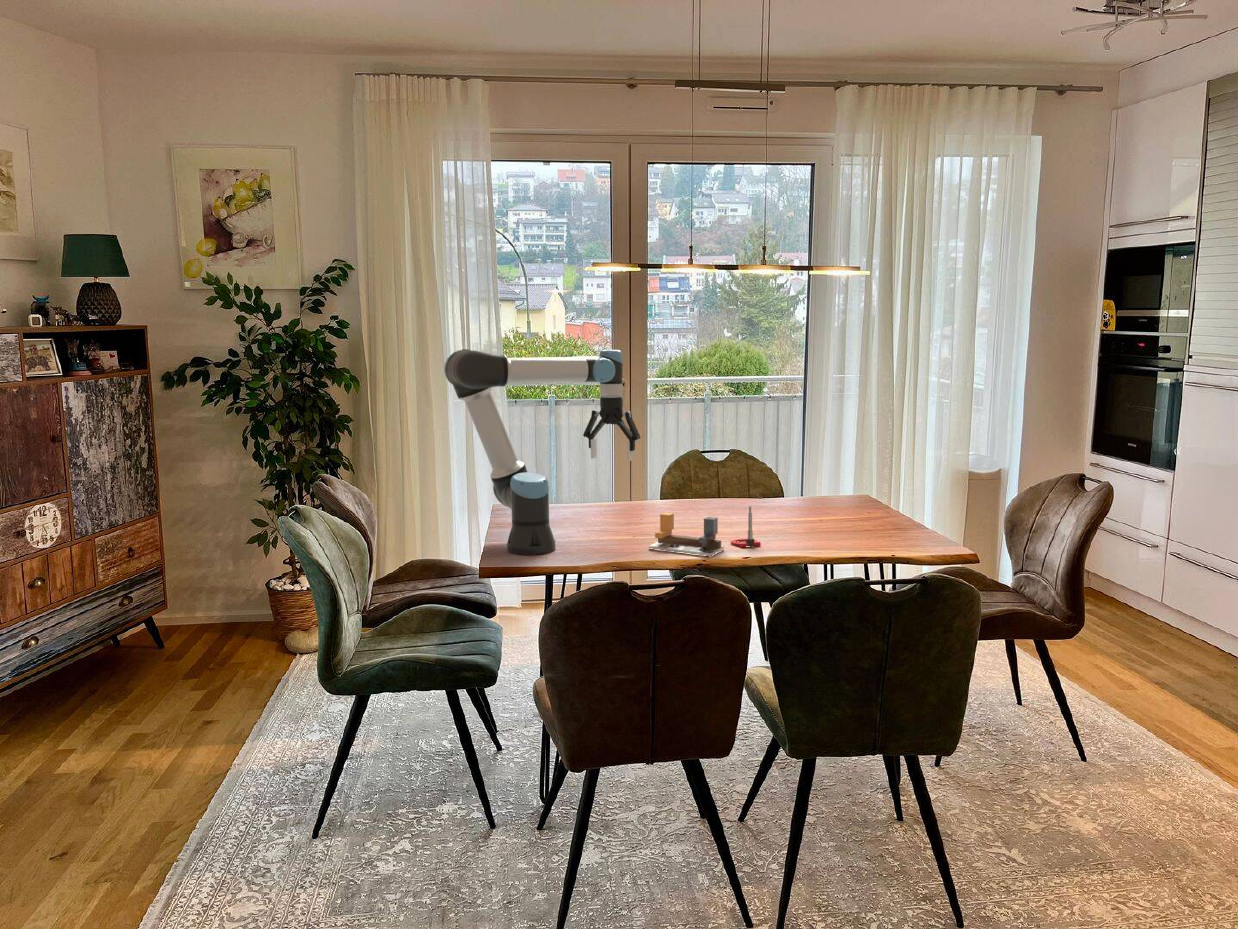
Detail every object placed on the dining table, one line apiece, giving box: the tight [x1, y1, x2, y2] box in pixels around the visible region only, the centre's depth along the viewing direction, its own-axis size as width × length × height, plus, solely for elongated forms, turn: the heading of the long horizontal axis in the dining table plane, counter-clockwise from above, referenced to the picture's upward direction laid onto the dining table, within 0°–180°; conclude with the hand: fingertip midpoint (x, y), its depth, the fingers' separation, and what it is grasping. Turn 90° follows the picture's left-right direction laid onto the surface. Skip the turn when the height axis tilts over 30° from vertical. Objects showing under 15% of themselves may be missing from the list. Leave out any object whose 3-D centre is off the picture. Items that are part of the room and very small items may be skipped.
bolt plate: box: [647, 534, 725, 557], centre depth 289 cm, size 10×21×3 cm, turn 61°
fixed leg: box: [698, 516, 719, 549], centre depth 286 cm, size 8×3×8 cm, turn 151°
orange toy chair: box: [654, 512, 675, 543], centre depth 293 cm, size 8×3×8 cm, turn 151°
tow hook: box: [730, 506, 762, 548], centre depth 295 cm, size 8×13×9 cm
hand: (611, 459), depth 315 cm, fingers open, 13 cm apart
